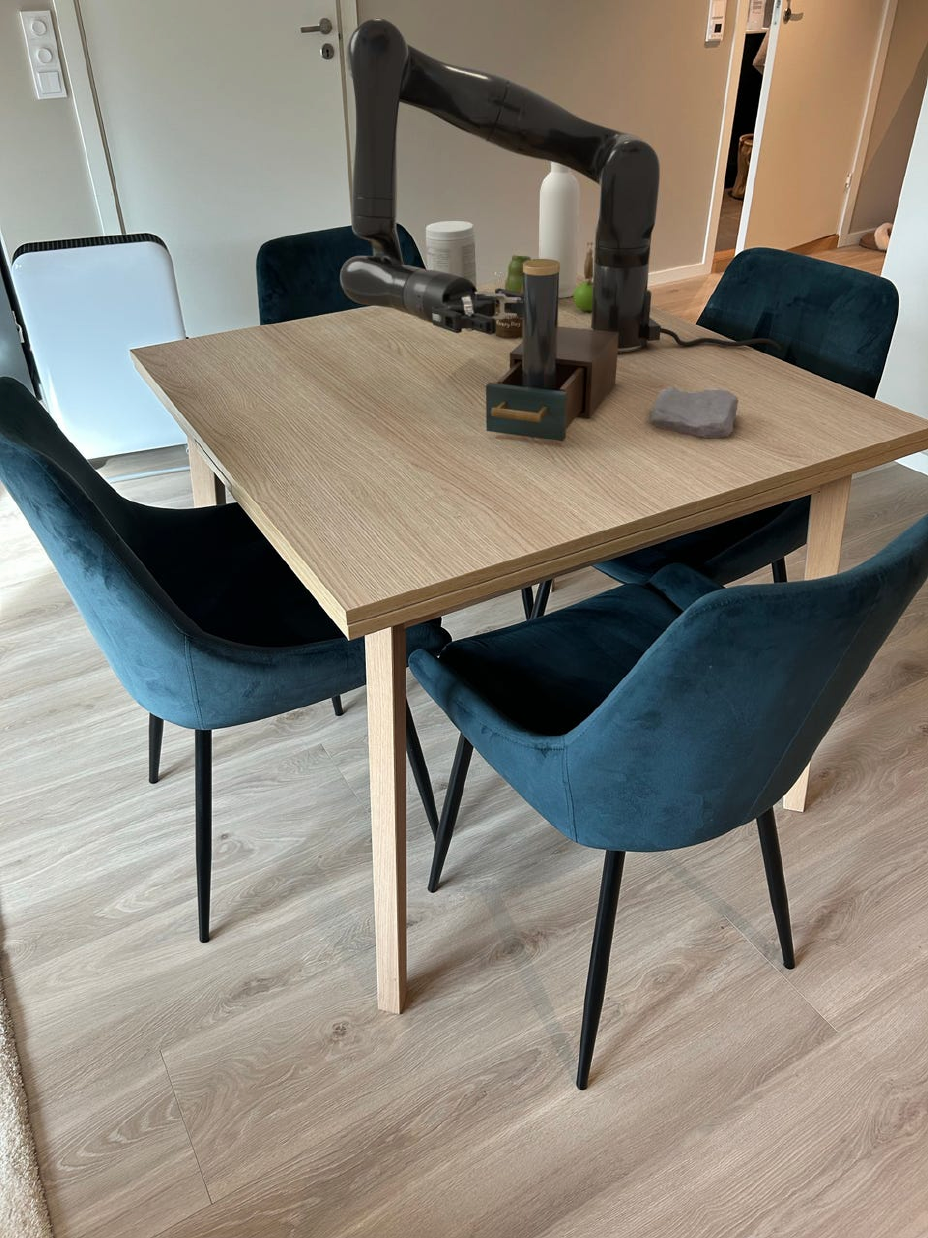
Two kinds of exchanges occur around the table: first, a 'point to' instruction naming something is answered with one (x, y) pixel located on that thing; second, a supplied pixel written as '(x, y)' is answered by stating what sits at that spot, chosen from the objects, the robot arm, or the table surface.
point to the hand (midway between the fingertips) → (515, 319)
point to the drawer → (535, 404)
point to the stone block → (695, 412)
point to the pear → (516, 273)
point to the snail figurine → (585, 284)
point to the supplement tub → (452, 248)
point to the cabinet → (586, 361)
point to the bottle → (560, 225)
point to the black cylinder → (540, 323)
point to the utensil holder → (508, 322)
